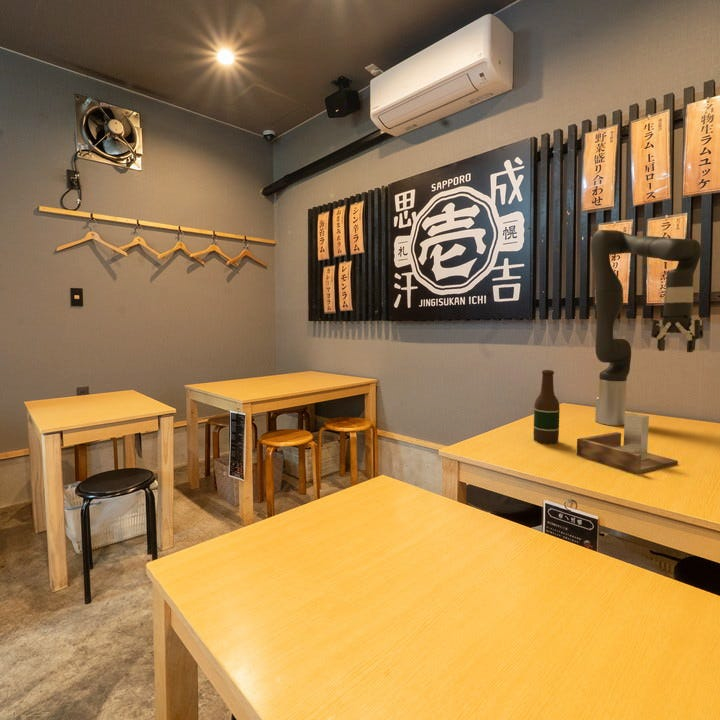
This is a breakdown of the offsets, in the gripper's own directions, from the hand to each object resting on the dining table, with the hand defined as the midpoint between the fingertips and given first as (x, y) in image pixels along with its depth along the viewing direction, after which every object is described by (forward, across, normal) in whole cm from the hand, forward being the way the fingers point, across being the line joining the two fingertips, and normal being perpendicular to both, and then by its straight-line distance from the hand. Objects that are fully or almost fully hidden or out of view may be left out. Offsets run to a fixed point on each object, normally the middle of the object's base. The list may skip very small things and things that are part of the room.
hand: (675, 351), depth 140 cm
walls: (+30, -6, +32) cm, 44 cm away
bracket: (+29, -7, +33) cm, 44 cm away
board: (+30, -6, +32) cm, 44 cm away
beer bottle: (+30, +18, +37) cm, 51 cm away
